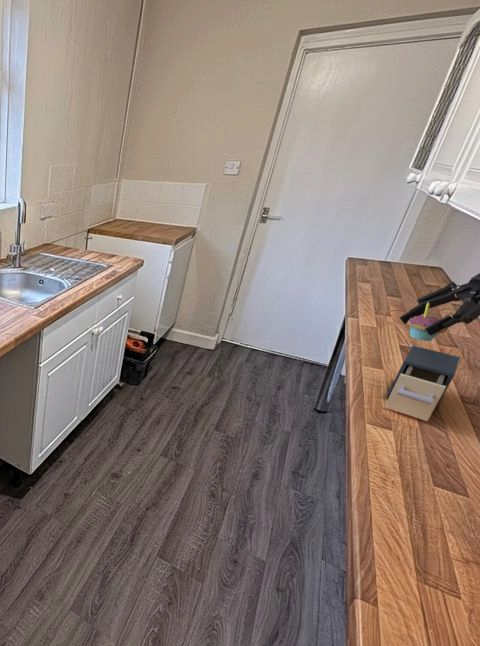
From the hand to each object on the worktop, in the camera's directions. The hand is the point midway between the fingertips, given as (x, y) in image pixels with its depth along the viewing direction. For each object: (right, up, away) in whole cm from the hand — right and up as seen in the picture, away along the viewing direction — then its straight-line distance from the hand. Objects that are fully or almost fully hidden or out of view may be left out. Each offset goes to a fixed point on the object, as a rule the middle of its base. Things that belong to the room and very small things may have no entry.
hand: (414, 326), depth 129 cm
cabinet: (-17, -19, -15) cm, 30 cm away
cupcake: (+3, -4, +1) cm, 5 cm away
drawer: (-25, -21, -22) cm, 40 cm away
